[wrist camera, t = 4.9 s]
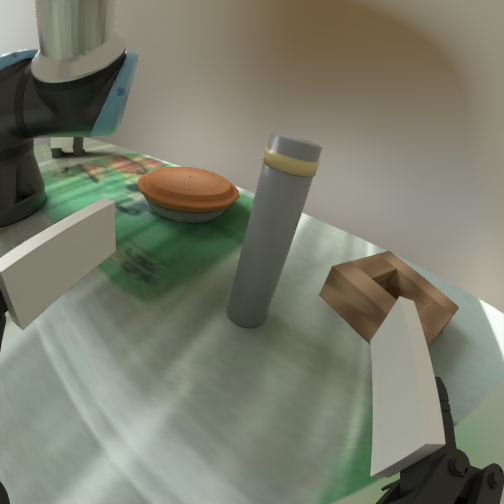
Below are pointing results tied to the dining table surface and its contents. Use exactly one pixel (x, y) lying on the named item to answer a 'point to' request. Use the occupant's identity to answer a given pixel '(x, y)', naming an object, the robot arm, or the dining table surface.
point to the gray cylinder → (272, 225)
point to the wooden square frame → (384, 294)
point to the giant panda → (67, 145)
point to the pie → (187, 193)
